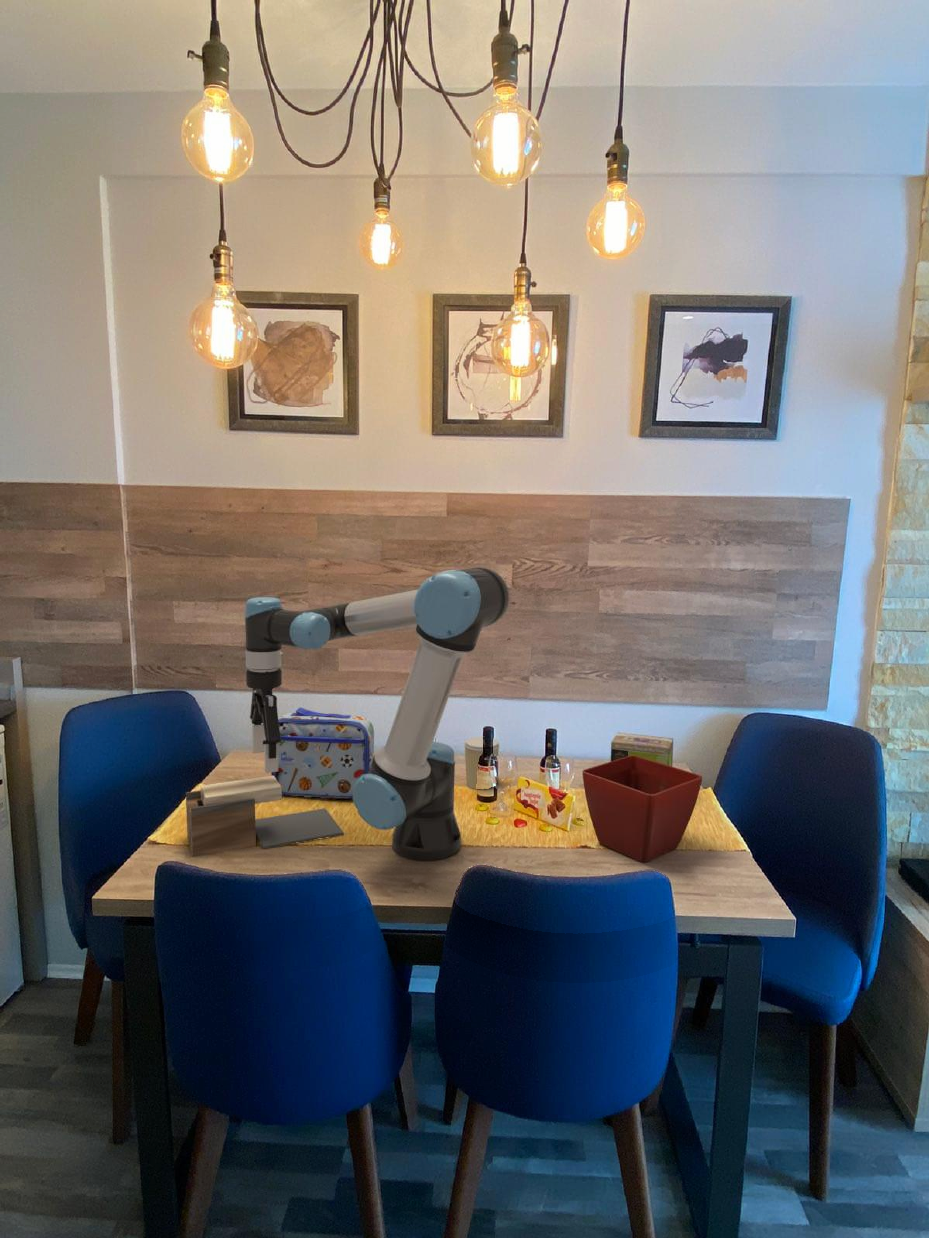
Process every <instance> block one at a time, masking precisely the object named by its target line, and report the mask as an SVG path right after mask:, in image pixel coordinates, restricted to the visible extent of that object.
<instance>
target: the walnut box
mask: <svg viewBox="0 0 929 1238" xmlns="http://www.w3.org/2000/svg"><path fill="white" fill-rule="evenodd" d="M185 804H186V805H185V806H186V811H185V812H186V831H187V832H186V833H187V834H186V836H187V841H188V845H189V848H190V851H191V855H192V857H198V856H203V855H209V854H214V853H215V854H216V853H219V852H227V851H232V850H238V849H243V848H249V847H254V846H256V845H257V841H256V839H257V836H256V828H255V820H256V804H255V799H254V798H253V799H246V800H239V801H232V802H226V803H219V804H212V805H205V806H204V805H203V803H202V800H201V789H200V790H194V791H186V792H185Z"/></svg>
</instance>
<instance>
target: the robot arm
mask: <svg viewBox="0 0 929 1238" xmlns="http://www.w3.org/2000/svg"><path fill="white" fill-rule="evenodd" d="M509 604H510V592H509V587H508V586H507V583H506V581H505V580H504V578H503V577H502V576H501V575H500V574H499V573H498V572H496V571H495V570H493V569H489V568H486V567H480V566H479V567H472V568H465V569H448V570H447V569H446V570H444V571H442V572H441V571H440V572H438V573H435V574H433V575H431V576H429V577H427V579H426V580H425V581H424V582H423V583H422V584H420V586H419V588H418V589H413V590H409V591H402V592H398V593H393V594H387V595H383V596H377V597H372V598H367V599H363V600H362V599H361V600H357V601H352V602H346V603H340V604H336V605H329V606H325V607H318V608H311V609H306V610H305V609H304V610H290V609H289V610H288V609H283V606H282V601H281V600H280V599H279V598H277V597H269V596H268V597H265V596H261V597H260V596H258V597H252V598H249V599H247V601H246V602H245V613H244V614H245V615H244V620H245V668H247V670H246V672H245V681H246V683H245V684H246V686H247V687H248V688H249V689H252V694H251V704H250V715H249V718H250V720H251V722H250V723H251V724H252V725H251V730H252V731H251V732H252V733H251V736H252V737H251V738H252V739H251V740H252V741H251V744H252V747H251V748H252V749H251V750H252V754H259V753H264V773H265V774H267V773H268V774H269V773H271V772H277V771H278V743H279V742H281V738H280V731H279V722H278V720H279V715H278V698H277V695H275V694H274V693H273V689H275V688H276V689H277V688H278V687H280V686H282V683H283V679H282V676H283V675H282V674H283V673H282V669H281V668H280V667H282V657H284V656H285V653H284V652H282V646H286V647H287V646H288V647H294V648H300V649H303V650H308V649H310V650H318V649H321V648H323V646H324V645H325V644H327V642H329V641H334V640H335V641H336V640H338V639H339V640H340V639H345V638H352V637H356V636H361V635H362V636H363V635H368V634H369V635H370V634H375V633H381V632H387V631H394V630H400V629H406V628H413V627H415V634H416V635H417V638H418V639H419V645H418V647H417V651H416V653H415V656H414V660H413V662H412V665H411V668H410V672H409V675H408V677H407V681H406V684H405V686H404V689H403V692H402V695H401V699H400V701H399V704H398V708H397V710H396V714H395V717H394V719H393V722H392V725H391V729H390V732H389V734H388V738H387V740H386V744H385V745H384V746H382V747H379V748H378V749H376V751H375V753H374V758H373V761H372V764H371V767H370V770H369V772H368V773H367V774H365V775H362V776H361V777H360V778H359V779H358V780H357V781H356V783H355V785H354V788H353V798H352V801H353V805H354V807H355V808H356V810H357V813H358V815H359V816H360V818H361V819H362V821H364V822H365V823H366V825H368V826H370V827H371V828H374V829H376V830H380V831H381V830H382V831H387V830H391V829H394V830H393V832H392V835H391V836H392V837H391V842H392V843H391V846H392V849H393V851H394V852H395V853H396V854H398V855H399V856H401V857H403V858H407V859H411V860H415V861H435V860H443V859H446V858H449V857H451V856H454V855H455V854H456V853H458V852H459V851H460V849H461V848H462V847H461V846H462V833H461V831H460V828H459V824H458V821H457V818H456V815H455V810H454V806H455V772H456V771H455V767H456V762H455V751H454V749H453V747H452V746H450V745H448V744H446V743H443V742H438V741H434V740H435V737H436V733H437V731H438V728H439V725H440V723H441V721H442V717H443V714H444V711H445V710H446V706H447V703H448V700H449V699H450V694H451V692H452V689H453V687H454V685H455V684H454V683H455V680H456V678H457V675H458V673H459V672H458V671H459V669H460V666H461V664H462V661H463V657H464V656H466V655H468V654H470V653H472V652H474V650H475V649H476V648H475V647H476V645H477V643H478V641H479V637H480V636H481V635H480V634H481V631H482V629H483V628H486V627H488V626H492V625H494V624H495V623H497V622H498V621H500V620H501V618H502V617H503V616H504V615H505V613H506V611H507V610H508V607H509ZM272 736H274V737H272ZM271 737H272V738H271Z"/></svg>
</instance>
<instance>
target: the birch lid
mask: <svg viewBox="0 0 929 1238" xmlns="http://www.w3.org/2000/svg"><path fill="white" fill-rule="evenodd" d="M200 790H201V800H202V803H203V805H204V806H205V805H212V804H219V803H226V802H232V801H239V800H246V799H253V798H254V799H255V805H257V804H264V803H271V802H277V801H282V799H283V797H282V796H283V794H282V787H281V785H280V784H279V783H278V781H277V780H276V778H275V777H274V776H271V775H268V776H261V777H255V778H254V777H253V778H246V779H238V780H232V781H231V780H230V781H224V782H219V783H217V782H216V783H210V784H202V785H200Z"/></svg>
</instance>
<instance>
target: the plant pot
mask: <svg viewBox="0 0 929 1238" xmlns="http://www.w3.org/2000/svg"><path fill="white" fill-rule="evenodd" d="M582 781H583V787H584V794H585V799H586V804H587V809H588V812H589V817H590V820H591V824H592V826H593V830H594V832H595V833H594V834H595V836H596V838H597V841H598V843H599V844H600V845H602V846H604V847H607V848H608V849H611V850H614V851H616V852H618V853H621V854H623V855H625V856H627V857H630V858H632V859H634V860H637V861H639V862H642V863H647V862H648V861H651V860H653V859H656V858H658V857H660V856H663V855H664V854H667V853H669V852H671V851H673V850H675V849H677V848H678V846H679V844H680V843H681V841H682V839H683V836H684V834H685V832H686V829H687V827H688V825H689V822H690V820H691V818H692V814H693V812H694V810H695V806H696V804H697V800H698V798H699V793H700V789H701V786H702V782H703V776H702V775H700V774H697V773H694V772H691V771H688V770H685V769H681V768H678V767H675V766H673V765H672V766H669V765H665V764H662V763H659V762H655V761H652V760H649V759H645V758H642V757H639V756H634V755H631V756H628V757H624V758H621V759H618V760H614V761H611V760H610V761H607V762H605V763H601V764H598V765H594V766H591V767H588V768H586V769H583V770H582Z"/></svg>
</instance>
